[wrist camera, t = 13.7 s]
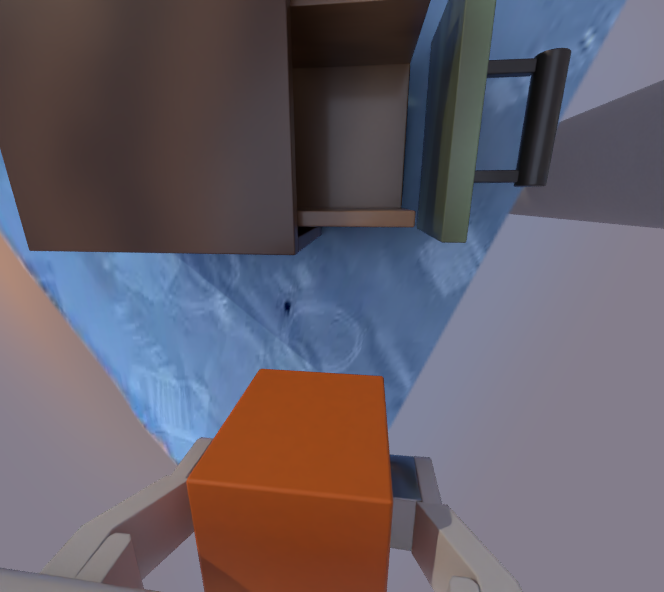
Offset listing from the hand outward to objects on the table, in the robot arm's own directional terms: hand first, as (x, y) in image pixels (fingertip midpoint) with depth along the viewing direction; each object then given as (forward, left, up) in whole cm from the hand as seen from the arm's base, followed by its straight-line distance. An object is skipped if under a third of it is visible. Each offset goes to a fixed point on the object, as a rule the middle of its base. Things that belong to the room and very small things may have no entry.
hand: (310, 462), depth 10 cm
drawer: (-2, -12, -16) cm, 20 cm away
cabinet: (+9, -12, -17) cm, 22 cm away
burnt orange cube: (0, 0, -2) cm, 2 cm away
